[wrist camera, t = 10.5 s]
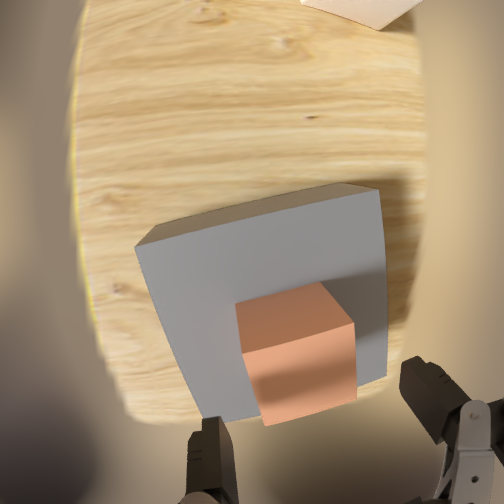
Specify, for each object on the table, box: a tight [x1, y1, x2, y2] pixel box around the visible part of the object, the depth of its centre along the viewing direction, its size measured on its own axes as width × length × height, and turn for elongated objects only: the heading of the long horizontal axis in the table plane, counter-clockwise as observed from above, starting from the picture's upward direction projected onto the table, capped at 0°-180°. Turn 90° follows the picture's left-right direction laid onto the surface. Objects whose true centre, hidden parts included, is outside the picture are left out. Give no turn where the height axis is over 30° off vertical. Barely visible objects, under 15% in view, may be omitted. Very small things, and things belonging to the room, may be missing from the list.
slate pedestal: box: [134, 183, 388, 423], centre depth 21 cm, size 14×14×6 cm
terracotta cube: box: [235, 282, 357, 426], centre depth 16 cm, size 5×5×5 cm
